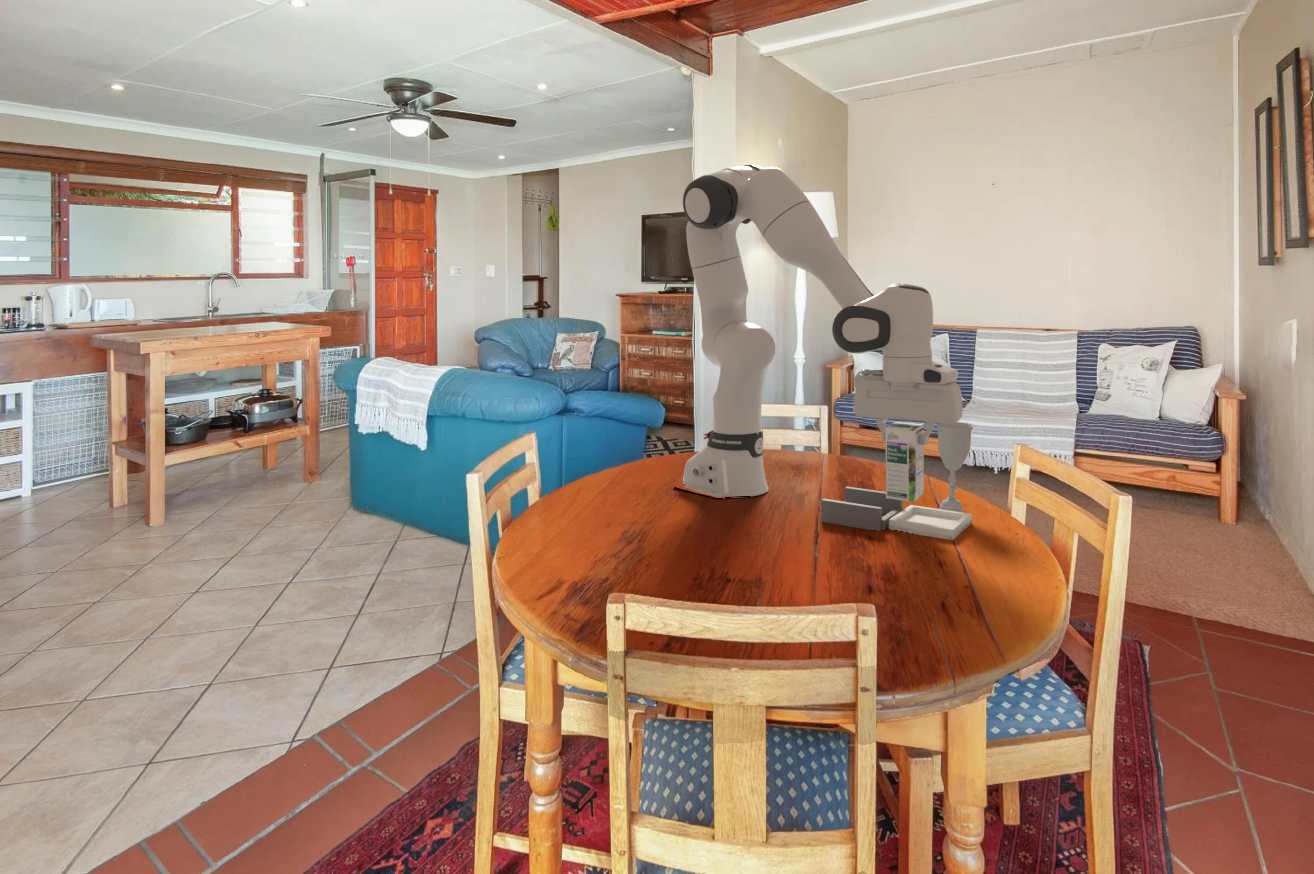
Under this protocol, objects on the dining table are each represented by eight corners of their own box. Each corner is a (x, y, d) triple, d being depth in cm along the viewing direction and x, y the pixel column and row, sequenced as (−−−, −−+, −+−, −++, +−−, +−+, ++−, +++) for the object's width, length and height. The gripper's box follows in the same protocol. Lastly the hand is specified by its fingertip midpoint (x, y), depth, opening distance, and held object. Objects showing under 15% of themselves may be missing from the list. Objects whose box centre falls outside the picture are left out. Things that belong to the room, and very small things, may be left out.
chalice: (961, 505, 161) (965, 421, 158) (975, 514, 154) (980, 427, 151) (927, 507, 161) (930, 423, 158) (940, 516, 154) (943, 428, 151)
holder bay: (821, 521, 153) (821, 499, 152) (846, 507, 162) (847, 486, 162) (881, 532, 145) (882, 509, 144) (904, 516, 155) (905, 494, 154)
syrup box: (884, 499, 149) (883, 427, 145) (896, 489, 154) (895, 420, 150) (913, 503, 146) (913, 430, 142) (924, 493, 150) (924, 422, 146)
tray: (888, 529, 147) (888, 519, 146) (910, 514, 156) (910, 504, 156) (952, 540, 140) (953, 529, 139) (971, 523, 149) (971, 513, 148)
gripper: (848, 370, 148) (847, 440, 151) (956, 375, 136) (953, 450, 138) (861, 367, 153) (860, 434, 156) (966, 371, 141) (963, 444, 143)
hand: (904, 442), depth 147 cm, fingers closed on syrup box, 6 cm apart
